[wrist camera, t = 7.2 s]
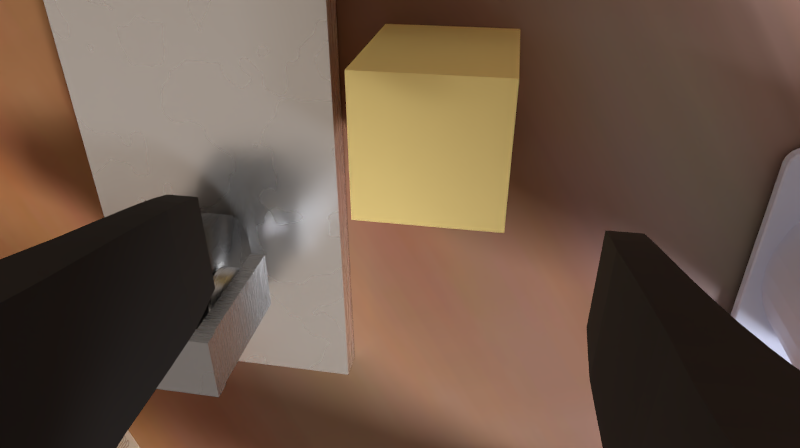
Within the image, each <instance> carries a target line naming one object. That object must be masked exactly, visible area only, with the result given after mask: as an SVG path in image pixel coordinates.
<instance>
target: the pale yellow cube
mask: <svg viewBox="0 0 800 448" xmlns="http://www.w3.org/2000/svg"><path fill="white" fill-rule="evenodd" d="M519 70H520V29H511V28H485V27H458V26H432V25H405V24H385V25H384V26H383V27H382V28H381V29H380V31H379V32H378V33H377V34H376V35H375V36H374V37H373V38H372V40H371V41H370V42H369V43H368V44H367V45H366V46H365V47H364V49H363V50H362V51H361V52H360V53H359V54H358V55H357V56H356V58H355V59H354V60H353V61H352V62H351V63H350V64H349V65H348V67H347V68H346V69H345V92H346V113H347V135H348V156H349V178H350V199H351V220H361V221H373V222H384V223H395V224H407V225H418V226H430V227H441V228H453V229H464V230H476V231H487V232H498V233H504V228H505V218H506V208H507V198H508V188H509V178H510V168H511V158H512V148H513V137H514V127H515V117H516V107H517V97H518V87H519Z"/></svg>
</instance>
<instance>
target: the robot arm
mask: <svg viewBox="0 0 800 448" xmlns="http://www.w3.org/2000/svg"><path fill="white" fill-rule="evenodd" d="M214 290H215V285H214V279H213V274H212V269H211V263H210V258H209V253H208V248H207V242H206V237H205V232H204V227H203V221H202V216H201V211H200V205H199V200H198V197H192V196H180V195H168V194H167V195H163V196H160V197H156V198H153V199H150V200H147V201H144V202H142V203H139V204H136V205H134V206H131V207H129V208H126V209H124V210H121V211H119V212H116V213H114V214H112V215H109V216H107V217H104V218H102V219H100V220H97V221H95V222H93V223H90V224H88V225H85V226H83V227H81V228H78V229H76V230H74V231H71V232H69V233H66V234H64V235H62V236H59V237H57V238H54V239H52V240H49V241H47V242H44V243H41V244H39V245H36V246H34V247H31V248H29V249H26V250H23V251H21V252H18V253H16V254H13V255H11V256H8V257H5V258H3V259H0V448H117V447H118V445H119V443H120V442H121V440H122V439H123V437H124V435H125V434H126V432H127V431H128V429H129V428H130V426H131V425H132V423H133V422H134V420H135V419H136V417H137V416H138V415H139V413H140V412H141V410H142V409H143V407H144V406H145V404H146V403H147V401H148V400H149V399H150V397H151V396H152V394H153V393H154V391H155V390H156V388H157V387H158V385H159V384H160V383H161V381H162V380H163V378H164V377H165V375H166V374H167V372H168V371H169V369H170V368H171V367H172V365H173V364H174V362H175V361H176V359H177V358H178V356H179V355H180V353H181V352H182V350H183V349H184V347H185V346H186V344H187V343H188V341H189V340H190V338H191V336H192V335H193V333H194V332H195V330H196V328H197V326H198V324H199V322H200V320H201V318H202V316H203V314H204V312H205V310H206V307H207V305H208V303H209V301H210V299H211V296H212V294H213V292H214ZM587 342H588V361H589V376H590V383H591V389H592V394H593V400H594V405H595V410H596V415H597V420H598V426H599V431H600V436H601V441H602V446H603V448H800V148H798V149H796V150H793V151H791V152H790V153H789V154H788V155H787V156H786V157H785V159H784V160H783V162H782V165H781V168H780V171H779V174H778V177H777V180H776V183H775V186H774V189H773V192H772V194H771V197H770V200H769V203H768V206H767V209H766V212H765V215H764V218H763V221H762V224H761V227H760V230H759V233H758V236H757V238H756V241H755V244H754V247H753V250H752V253H751V256H750V259H749V262H748V265H747V268H746V271H745V274H744V277H743V280H742V282H741V285H740V288H739V291H738V294H737V297H736V300H735V303H734V306H733V309H732V312H731V315H730V314H729V313H728V312H726V311H725V310H724V309H723V308H722V307H721V306H720V305H718V304H717V303H716V302H715V301H714V300H713V299H712V298H711V297H710V296H709V295H708V294H706V293H705V292H704V291H703V290H702V289H701V288H700V287H699V286H698V285H697V284H696V283H695V282H694V281H693V280H692V279H691V278H690V277H689V276H688V275H686V274H685V273H684V272H683V271H682V270H681V269H680V268H679V267H678V266H677V265H676V264H675V263H674V262H673V261H672V260H671V259H670V258H669V257H668V256H667V255H666V254H665V253H664V252H663V251H662V250H661V249H660V248H659V247H658V246H657V245H656V244H655V243H654V242H653V241H652V240H651V239H650V238H648V237H647V236H646V235H645V234H641V233H629V232H617V231H605V236H604V241H603V247H602V252H601V257H600V262H599V267H598V272H597V277H596V283H595V288H594V293H593V298H592V303H591V308H590V313H589V319H588V324H587Z"/></svg>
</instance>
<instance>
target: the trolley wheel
mask: <svg viewBox="0 0 800 448" xmlns="http://www.w3.org/2000/svg"><path fill="white" fill-rule="evenodd" d="M43 1H44V5H45V8H46V12H47V15H48V19H49V22H50V26H51V30H52V33H53V37H54V40H55V44H56V47H57V51H58V54H59V58H60V62H61V65H62V69H63V72H64V76H65V79H66V83H67V86H68V90H69V93H70V97H71V101H72V104H73V108H74V111H75V115H76V118H77V122H78V125H79V129H80V133H81V136H82V140H83V143H84V147H85V150H86V154H87V157H88V161H89V164H90V168H91V172H92V175H93V179H94V182H95V186H96V189H97V193H98V196H99V200H100V204H101V207H102V211H103V214H104V217H107V216H109V215H112V214H114V213H116V212H119V211H121V210H124V209H126V208H129V207H131V206H134V205H136V204H139V203H142V202H144V201H147V200H150V199H153V198H156V197H160V196H163V195H167V194H168V195H180V196H192V197H198V200H199V205H200V211H201V216H202V221H203V227H204V232H205V237H206V242H207V248H208V253H209V258H210V263H211V269H212V274H213V279H214V285H215V290H214V292H213V294H212V296H211V299H210V301H209V303H208V305H207V307H206V310H205V312H204V314H203V316H202V318H201V320H200V322H199V324H198V326H197V328H196V330H195V332H194V333H193V335H192V336H191V338H190V340H189V341H188V343H187V344H186V346H185V347H184V349H183V350H182V352H181V353H180V355H179V356H178V358H177V359H176V361H175V362H174V364H173V365H172V367H171V368H170V369H169V371H168V372H167V374H166V375H165V377H164V378H163V380H162V381H161V383H160V384H159V385H158V387H157V388H156V389H162V390H169V391H177V392H184V393H192V394H199V395H207V396H214V397H219V396H220V394H221V393H222V391H223V389H224V387H225V386H226V381H227V379H228V378H229V376H230V374H231V372H232V371H233V369H234V367H235V365H236V364H237V362H238V361H243V362H251V363H259V364H267V365H275V366H283V367H291V368H299V369H307V370H315V371H323V372H331V373H339V374H348V375H349V372H350V369H351V366H352V363H353V360H354V342H353V323H352V304H351V285H350V266H349V247H348V228H347V209H346V190H345V171H344V152H343V133H342V114H341V95H340V76H339V57H338V38H337V19H336V0H43Z"/></svg>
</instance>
